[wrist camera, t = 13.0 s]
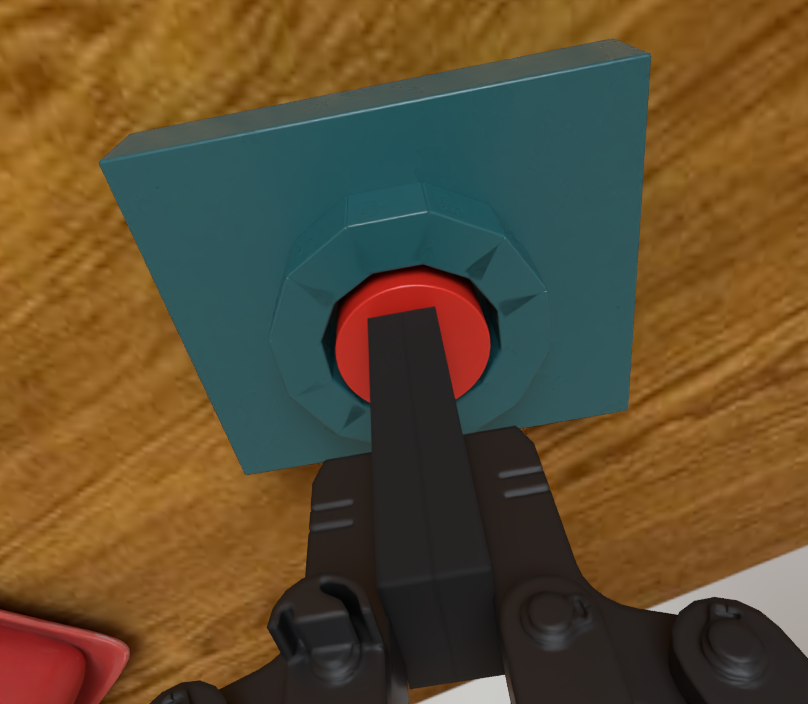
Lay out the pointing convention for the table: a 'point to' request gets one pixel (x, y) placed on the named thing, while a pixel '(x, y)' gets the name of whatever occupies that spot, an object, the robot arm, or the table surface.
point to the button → (406, 293)
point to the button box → (401, 239)
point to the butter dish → (56, 662)
